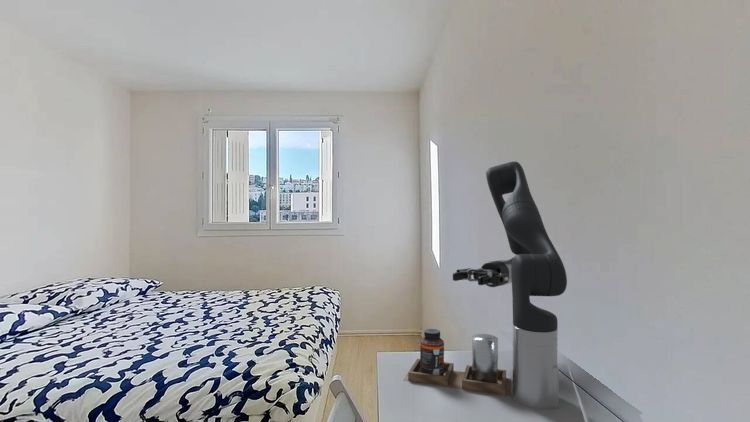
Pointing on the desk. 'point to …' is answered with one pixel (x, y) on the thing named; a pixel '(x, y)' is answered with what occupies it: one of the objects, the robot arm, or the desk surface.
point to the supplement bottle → (432, 353)
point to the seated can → (485, 358)
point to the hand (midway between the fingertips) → (466, 279)
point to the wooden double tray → (460, 380)
